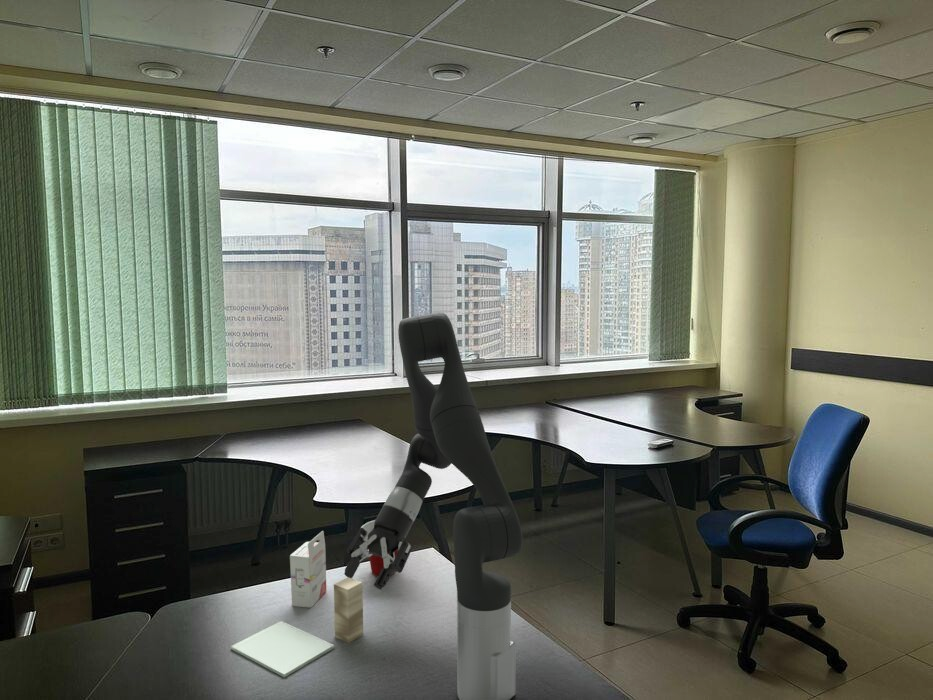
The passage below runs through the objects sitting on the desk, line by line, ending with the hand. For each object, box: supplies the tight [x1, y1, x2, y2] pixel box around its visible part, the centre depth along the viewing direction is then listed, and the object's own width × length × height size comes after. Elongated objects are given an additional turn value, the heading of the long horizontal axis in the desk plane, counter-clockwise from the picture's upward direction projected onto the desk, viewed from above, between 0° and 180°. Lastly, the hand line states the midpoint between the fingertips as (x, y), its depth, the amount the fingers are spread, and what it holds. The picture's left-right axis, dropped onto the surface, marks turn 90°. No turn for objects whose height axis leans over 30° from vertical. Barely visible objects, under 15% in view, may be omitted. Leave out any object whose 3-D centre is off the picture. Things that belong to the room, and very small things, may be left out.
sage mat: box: [230, 620, 335, 678], centre depth 127 cm, size 16×12×1 cm
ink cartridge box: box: [289, 530, 327, 608], centre depth 147 cm, size 9×5×15 cm, turn 168°
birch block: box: [333, 577, 364, 644], centre depth 131 cm, size 4×4×11 cm
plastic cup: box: [360, 519, 399, 577], centre depth 161 cm, size 11×11×12 cm
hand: (362, 582), depth 134 cm, fingers open, 8 cm apart
